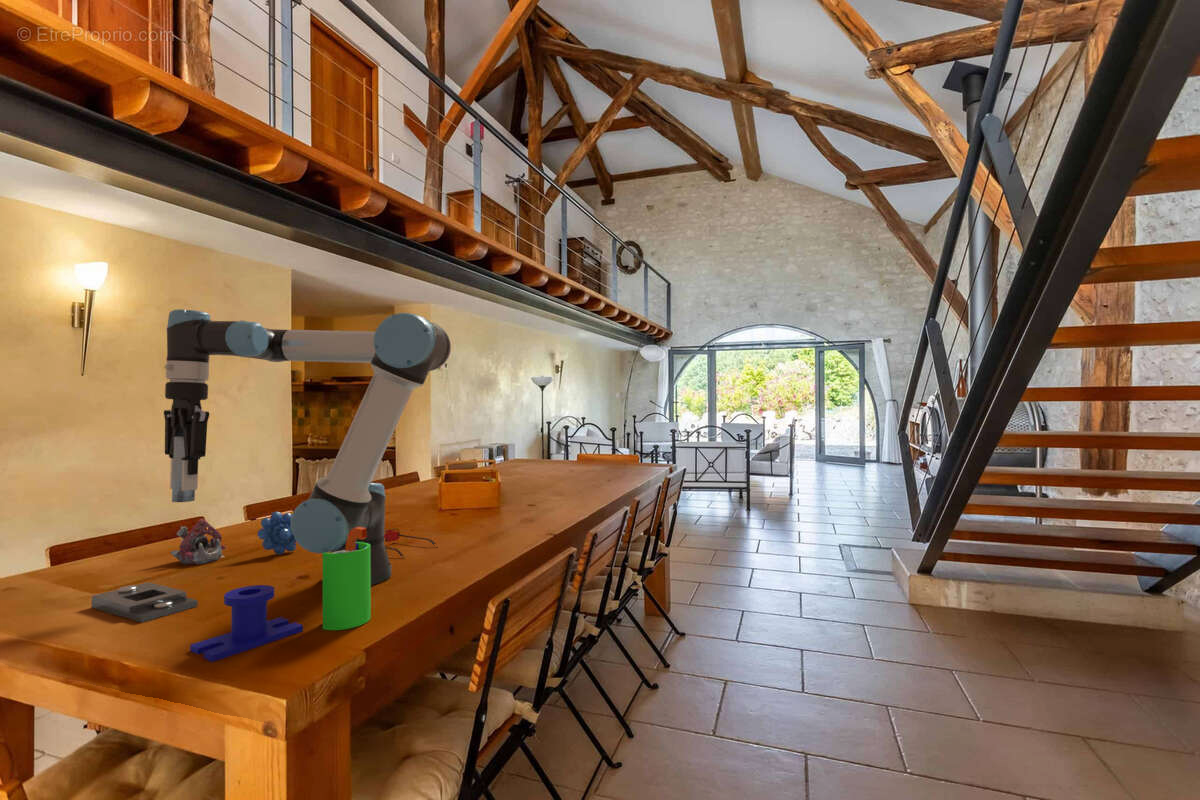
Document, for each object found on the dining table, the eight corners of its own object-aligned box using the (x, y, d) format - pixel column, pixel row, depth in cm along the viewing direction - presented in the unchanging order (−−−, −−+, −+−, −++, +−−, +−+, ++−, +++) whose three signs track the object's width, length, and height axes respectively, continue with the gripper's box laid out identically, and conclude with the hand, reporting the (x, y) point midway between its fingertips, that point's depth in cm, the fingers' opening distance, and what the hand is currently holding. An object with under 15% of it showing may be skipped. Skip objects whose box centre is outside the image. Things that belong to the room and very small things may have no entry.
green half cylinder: (335, 612, 112) (336, 522, 113) (376, 611, 113) (378, 522, 113) (316, 631, 103) (317, 532, 103) (361, 629, 104) (362, 532, 104)
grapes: (263, 561, 149) (264, 516, 149) (253, 556, 153) (254, 512, 153) (308, 552, 158) (309, 510, 158) (298, 548, 162) (299, 507, 162)
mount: (211, 663, 90) (212, 608, 91) (190, 652, 94) (191, 599, 95) (302, 632, 103) (303, 584, 103) (280, 623, 107) (281, 577, 107)
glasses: (397, 542, 172) (397, 526, 172) (439, 549, 165) (439, 532, 165) (360, 553, 159) (360, 535, 159) (404, 560, 152) (405, 542, 152)
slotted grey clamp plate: (197, 606, 115) (197, 591, 115) (140, 622, 106) (141, 606, 106) (148, 593, 123) (148, 579, 123) (91, 607, 114) (91, 592, 114)
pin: (198, 500, 123) (200, 436, 123) (177, 503, 120) (180, 437, 120) (188, 498, 125) (190, 435, 125) (167, 501, 121) (170, 436, 122)
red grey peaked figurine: (199, 559, 142) (179, 519, 144) (173, 582, 144) (153, 543, 146) (240, 548, 153) (220, 511, 155) (215, 570, 155) (196, 533, 157)
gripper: (147, 380, 123) (143, 487, 123) (189, 380, 115) (185, 494, 115) (185, 382, 130) (181, 483, 130) (228, 382, 122) (224, 490, 122)
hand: (183, 488), depth 122 cm, fingers closed on pin, 4 cm apart
